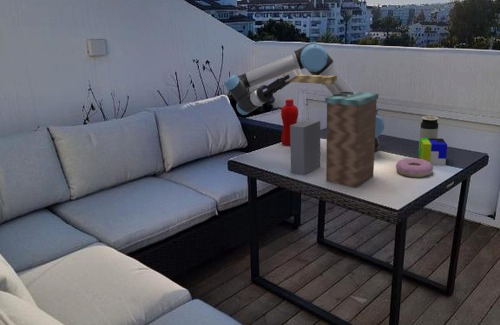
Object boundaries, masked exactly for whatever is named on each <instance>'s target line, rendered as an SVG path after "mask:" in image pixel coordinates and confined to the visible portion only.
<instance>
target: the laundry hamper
mask: <svg viewBox="0 0 500 325" xmlns="http://www.w3.org/2000/svg"><path fill="white" fill-rule="evenodd" d="M379 95H380V94H379V93H373V92H359V91H355V92H348V91H339V93H333V94H331V95H329V96H327V97H325V98H324V103H325V104H326V166H325V167H326V177H325V178H326V182H328V183H332V184H333V183H334V184H338V185H342V186H347V187H352V188H355V189H356V188H358V187H360V186H361V185H363V184H364V183H366V182H367V181H369V180H370V179H372V178H374V169H375V168H374V167H375V152H374V149H375V126H376V106H377V100H378V99H379Z"/></svg>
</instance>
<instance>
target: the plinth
mask: <svg viewBox="0 0 500 325" xmlns="http://www.w3.org/2000/svg"><path fill="white" fill-rule="evenodd" d="M320 167H321V120H316V119H309V118H307V119H304V120H302V121H299V122H297V123H296V124H293V125H290V173H292V174H295V175H296V174H297V175H300V176H305V175H307V174H310V173H311V172H313V171H315V170H316V169H318V168H320Z"/></svg>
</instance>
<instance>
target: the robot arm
mask: <svg viewBox="0 0 500 325" xmlns="http://www.w3.org/2000/svg"><path fill="white" fill-rule="evenodd" d="M334 62H335V61H334V60H333V58H332V57H331V56H330V55H329V53H327V51H326V49H325V48H324V47H323V46H321V45H320V44H319V43H316V42H310V43H307V44H305V45H304V46H302V47H300V48H299V49H297V50H294V51H293V52H292V54H289V55H287V56H284V57H282V58H280V59H277V60H274V61H272V62H270V63H268V64H265V65H263V66H259V67H258V68H255V69H252V70H250V71H247V72H246V73H243V74H240V75H237V74H233V75H231V76H229V78H228V79H226V80H225V81H224V82H223V85H224V86H225V87H224V88H226V90H227V91H228V92H229V93H230V94H231V96H232V97H233V98H234V99H235V102H236V105H235V106H236V110H237V112H238V113H239V114H240V115H242V116H246V115H248V114H251V112H253V111H255V110H257V109H258V108H259V107H263V105H264V104H266V103H267V102H269V101H270V100H272V99H273V97H274V95H273V94H275V93H277V92H278V91H279V90H280V91H281V90H282V89H283V88H285V87H286V86H287V85H289V84H290V83H292V82H287V81H289V80H291V79H292V78H294V77H295V76H297V74H300V75H303V74H302V71H301V70H303V69H305V70H307V71H308V72H309V73H310V75H321V76H330V75H335V76H337V83H334V84H331V85H324V86H325V88H326V89H327V90H328V91H329V92H330V93H331V95H333V93H339V91H348V92H356V91H355V90H354V89H353V88H352V87H351V85H350V84H349V83H348V82H347V81H346V79H345V78H344V77H343V76H342V75H341V73H340V72H339V71H338V70H337V69H336V68H335V66H334ZM284 74H286V75H285V76H283V75H284ZM280 76H282V77H280ZM278 77H280V78H278ZM275 78H277V79H275ZM272 79H275V80H273V81H272V82H270V83H269V84H267V85H266V84H263V83H264V82H265V83H266V82H267V81H269V80H272ZM259 84H262V85H261V86H259V87H258V88H257V89H255V90H253V91H252V92H251V93H250V92H249V90H248V89H251V88H252V87H254V86H256V85H259ZM378 112H379V107H378V105H376V126H375V149H374V153H376V152H378V151H380V141H379V138H378V137H380V136H381V134H383V132H384V129H385V122H384V119H383V118H382V117H381V116H380V115H379V114H378Z"/></svg>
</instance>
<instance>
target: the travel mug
mask: <svg viewBox="0 0 500 325" xmlns="http://www.w3.org/2000/svg"><path fill="white" fill-rule="evenodd" d="M421 119H422V121H421V123H420V128H419V129H420V130H419V139H420V138H438V136H439V135H438V132H439V123H438V120H439V117H437V116H433V115H424V116H421ZM418 144H419V145H418V148H419V147H420V140H419V143H418Z"/></svg>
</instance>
